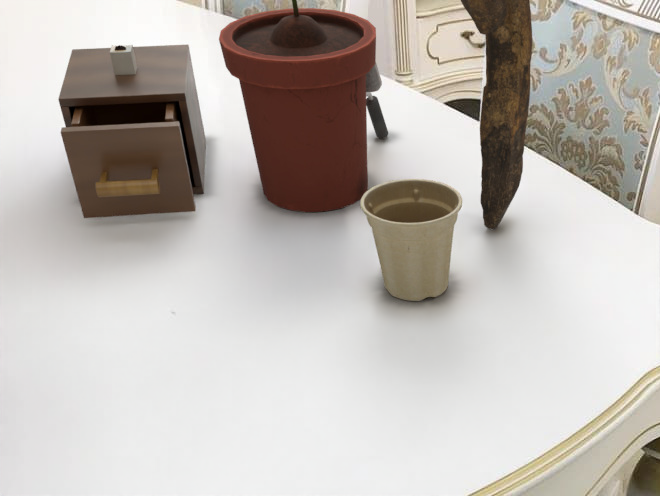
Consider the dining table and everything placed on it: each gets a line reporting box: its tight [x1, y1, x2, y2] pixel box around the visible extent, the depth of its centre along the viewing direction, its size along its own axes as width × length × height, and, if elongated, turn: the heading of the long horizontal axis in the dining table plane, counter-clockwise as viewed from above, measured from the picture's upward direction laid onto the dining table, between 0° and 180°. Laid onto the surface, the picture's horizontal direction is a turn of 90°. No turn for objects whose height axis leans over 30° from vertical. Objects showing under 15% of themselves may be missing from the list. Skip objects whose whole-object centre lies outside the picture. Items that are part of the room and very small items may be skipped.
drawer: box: [60, 101, 197, 219], centre depth 116 cm, size 18×11×9 cm, turn 10°
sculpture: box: [460, 0, 533, 230], centre depth 106 cm, size 7×7×30 cm
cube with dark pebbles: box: [110, 44, 137, 75], centre depth 117 cm, size 2×2×2 cm
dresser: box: [57, 44, 207, 195], centre depth 122 cm, size 15×13×11 cm
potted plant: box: [218, 0, 389, 213], centre depth 116 cm, size 18×22×25 cm
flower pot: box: [359, 178, 463, 302], centre depth 105 cm, size 9×9×9 cm
